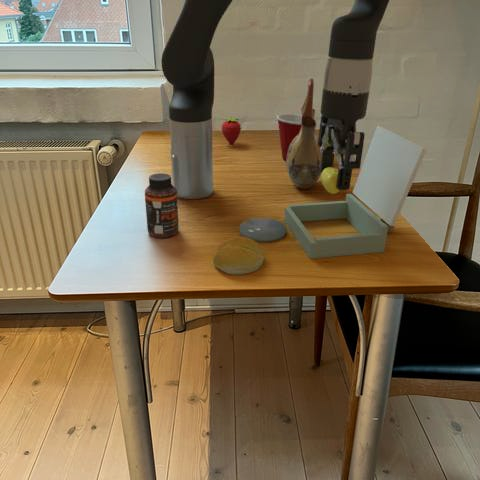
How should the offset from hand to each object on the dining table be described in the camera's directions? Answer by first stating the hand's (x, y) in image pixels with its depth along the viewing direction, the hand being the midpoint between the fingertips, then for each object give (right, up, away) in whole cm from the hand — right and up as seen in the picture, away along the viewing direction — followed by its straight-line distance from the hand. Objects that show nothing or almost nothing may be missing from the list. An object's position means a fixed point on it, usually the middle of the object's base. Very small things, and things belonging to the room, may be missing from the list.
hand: (333, 180), depth 83 cm
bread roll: (-17, -15, -4) cm, 23 cm away
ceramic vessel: (-1, +2, +30) cm, 30 cm away
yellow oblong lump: (0, -2, +1) cm, 2 cm away
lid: (+10, +2, +2) cm, 10 cm away
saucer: (-13, -9, +7) cm, 17 cm away
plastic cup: (-2, +12, +49) cm, 50 cm away
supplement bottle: (-32, -9, +6) cm, 34 cm away
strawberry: (-20, +19, +61) cm, 67 cm away
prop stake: (+12, -9, +8) cm, 17 cm away
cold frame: (0, -10, +6) cm, 11 cm away
